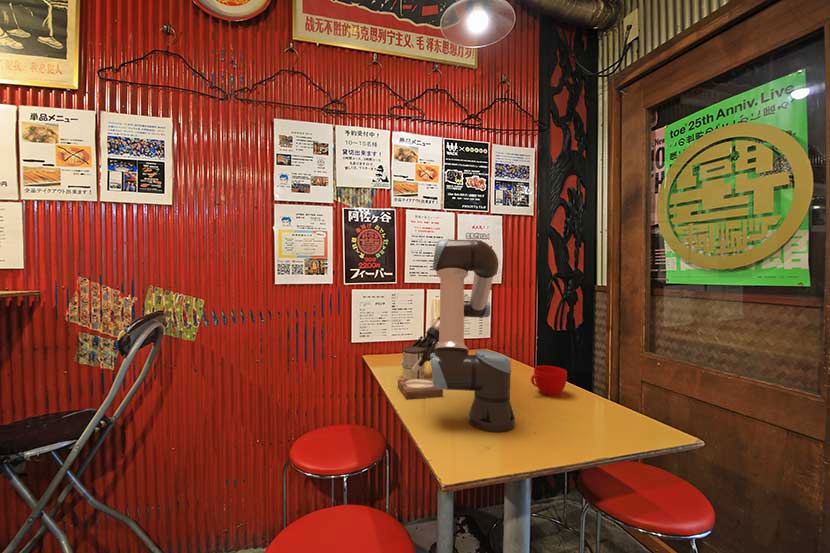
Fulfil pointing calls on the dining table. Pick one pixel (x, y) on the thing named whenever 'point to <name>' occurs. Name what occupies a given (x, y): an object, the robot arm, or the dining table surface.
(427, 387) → the base
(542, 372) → the ceramic cup
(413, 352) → the coffee can
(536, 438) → the dining table surface
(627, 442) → the dining table surface
